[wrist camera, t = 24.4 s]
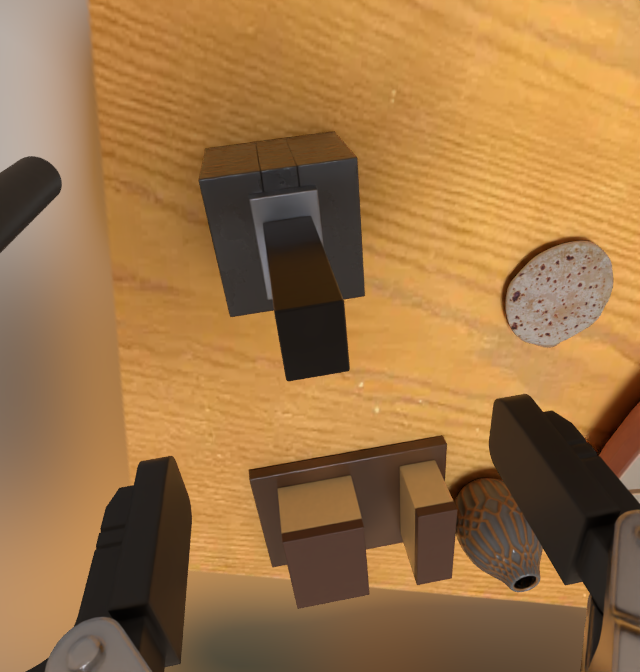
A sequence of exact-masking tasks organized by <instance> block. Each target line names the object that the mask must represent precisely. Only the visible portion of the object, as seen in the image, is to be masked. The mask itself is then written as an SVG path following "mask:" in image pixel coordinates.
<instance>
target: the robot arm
mask: <svg viewBox="0 0 640 672" xmlns="http://www.w3.org/2000/svg"><path fill="white" fill-rule="evenodd" d="M489 451H490V455H491V459H492V461H493V464H494V466H495V468H496V469H497V471H498V473H499V475H500V476H501V478H502V480H503V481H504V483H505V485H506V486H507V488H508V490H509V491H510V493H511V495H512V497H513V498H514V500H515V502H516V503H517V505H518V507H519V508H520V510H521V512H522V513H523V515H524V517H525V519H526V520H527V522H528V524H529V525H530V527H531V529H532V530H533V532H534V534H535V535H536V537H537V539H538V541H539V542H540V544H541V546H542V547H543V549H544V551H545V552H546V554H547V556H548V557H549V559H550V561H551V563H552V564H553V566H554V568H555V569H556V571H557V573H558V574H559V576H560V578H561V580H562V581H563V583H564V585H569V584H574V583H579V582H583V583H584V585H585V586H586V588H587V589H588V591H589V593H590V595H589V598H588V604H587V613H586V623H585V632H584V643H583V651H582V660H581V670H580V672H640V503H639V502H638V501H637V499H636V498H635V497H634V496H633V495H632V494H631V492H630V491H629V490H628V489H627V488H626V486H625V485H624V484H623V483H622V482H621V481H620V479H619V478H618V477H617V476H616V475H615V473H614V472H613V471H612V470H611V469H610V468H609V466H608V465H607V464H606V463H605V462H604V460H603V459H602V458H601V457H600V456H598V455H597V452H596V451H595V450H594V449H593V447H592V446H591V445H590V444H589V443H587V442H586V439H585V438H584V437H583V436H582V434H581V433H580V432H579V431H578V430H577V429H576V427H575V426H574V425H573V424H572V423H571V422H569V421H568V420H566V419H565V418H563V417H561V416H560V415H558V414H557V413H555V412H554V411H546V412H543V411H542V410H541V409H540V408H539V406H538V405H537V404H536V403H535V401H534V400H533V399H532V398H531V397H530V396H529V395H527V394H522V395H516V396H510V397H505V398H499V399H496V400H495V401H494V405H493V412H492V420H491V429H490V437H489ZM191 525H192V513H191V505H190V500H189V496H188V493H187V491H186V488H185V485H184V482H183V480H182V477H181V474H180V471H179V469H178V466H177V463H176V461H175V459H174V457H173V456H168V457H162V458H157V459H151V460H146V461H141V462H140V463H139V465H138V468H137V473H136V478H135V482H134V485H133V486H127V487H122V488H119V489H118V491H117V492H116V494H115V495H114V497H113V498H112V500H111V501H110V502H109V504H108V505H107V507H106V509H105V513H104V517H103V521H102V525H101V533H99V536H98V541H97V544H96V550H95V552H94V556H93V560H92V563H91V567H90V571H89V575H88V579H87V583H86V587H85V591H84V595H83V598H82V602H81V606H80V610H79V614H78V617H77V620H76V623H75V625H74V627H73V628H72V629H71V630H69V631H68V632H67V633H66V634H65V635H64V636H63V637H62V638H61V639H60V640H59V642H58V643H57V644H56V646H55V647H54V649H53V651H52V652H51V654H50V656H49V658H47V659H46V660H44V661H43V662H42V663H40V664H39V665H37V666H35V667H33V668H32V669H30V670H28V671H26V672H164V668H165V667H168V666H173V665H177V664H180V663H181V651H182V639H183V626H184V613H185V601H186V588H187V575H188V563H189V550H190V538H191Z"/></svg>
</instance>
